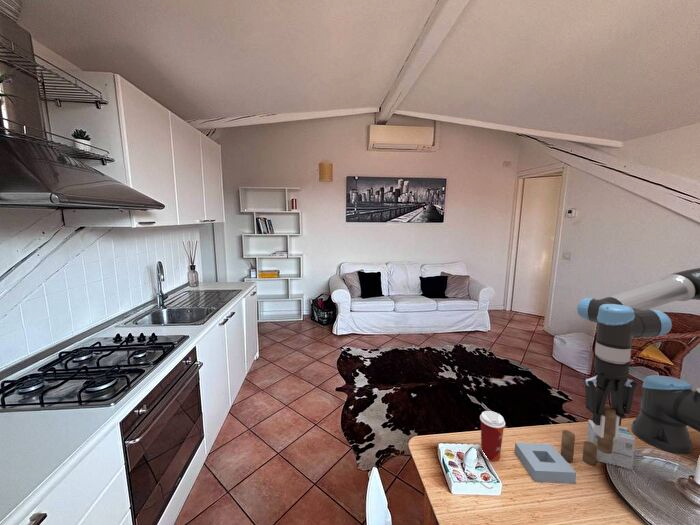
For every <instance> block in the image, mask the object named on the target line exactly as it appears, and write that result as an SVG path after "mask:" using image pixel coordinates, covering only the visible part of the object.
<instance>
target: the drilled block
mask: <svg viewBox="0 0 700 525" xmlns="http://www.w3.org/2000/svg"><path fill="white" fill-rule="evenodd" d="M514 443H515V444H514V454H515V455H516V456H517V458H518V459H519V460H520V462H521V463H522V465H523V466H524V468H525V469H526V471H527V473H528V474H529V475H530V477H531V478H532V480H533V481H534V482H538V483H539V482H543V483H562V484H576V480H577V472H576V470H575V469H574V468H573V467H572V465H571V464H569V462H567V461H566V460H565V459H564V458H563V457H562V456H561V452H559V451H558V450H557V449H556V448H555V446H554V445H553V444H552V443H539V442H538V443H537V442H535V443H533V442H532V443H531V442H514Z"/></svg>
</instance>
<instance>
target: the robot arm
mask: <svg viewBox="0 0 700 525" xmlns="http://www.w3.org/2000/svg"><path fill="white" fill-rule="evenodd" d="M690 300H692V301H693V300H697V301H700V267H695V268H691V269H686V270H681V271H678V272H677V271H676V272H674V273H671V274H666V275H665V276H663V277H662V278H661V279H660V280H659V281H655V282H652V283H650V284H646V285H642V286H640V287H635V288H633V289H630V290H626V291H624V292H620V293H616V294H613V295H610V296H607V297H603V298H600V299H596V298H594V297H593V298H591V297H585V298H583V299H581V300H580V301H579V302H578V304H577V307H576V309H577V310H576V311H577V314H578V316H579V317H580V318H581V319H584V320H587V321H589V322H592V323H596V338H595V348H594V349H595V350H594V354H595V356H594V361H593V368H594V373H593V374H592V377H590V378H587V377H584V378H582V380H583V383H584V385H585V386H584V387H585V390H584V391H585V409H587V410H588V411H589V412H590V413H592V418H591V420H592V421H593V423H594V432H595V433H596V434H597V435H598V436H600V437H601V438H604V426H605V416H604V415H602V414H603V411H604V407H605V405H606V402H607V399H608V396H609V395H610V398H611V399H610V402H611V407H612V408H614V409H615V410H616V412H615V423H614V435H613V437H614V438H618V429H619V426H621V424H622V419H626V417H627V415H630V414H631V412H632V411H631V410H632V405H633V400H634V398H633V397H634V393H635V389H637V386H638V383H637V382H636V381H634V380H632V379H631V378H629V377H628V376H629V374H630V367H631V366H630V364H631V363H630V361H631V354H632V340H633V339H639V338H655V337H659V336H664V335H667V334H668V333H669V332H670V331H671V329H672V327H673V326H672V325H673V324H672V322H673V321H672V320H671V318H670V317H669V315H668V314H666V313H665V312H663V311H661V310H657V309H654V308H657V307H659V306H660V307H661V306H663V305H667V304H669V303H672V302H686V301H690ZM687 426H688V427H689V428H691V429H693V430H695V431H697V432H699V433H700V387H696V388H695V391H694V390H693V387H692V384H691V383H690V382H688V381H687V380H684V379H681V378H677V377H672V376H666V375H657V374H656V375H655V374H653V375H647V376H645V377H644V379H643V383H642V390H641V401H640V410H639V413H638V414H637V416H636V417H635V419H634V420H633V421H632V424H631V431H632V433H633V434H634V435H635V436H636V437H638V438H639V439H640V440H642V441H643V442H645V443H647V444H649V445H651V446H652V447H655V448H658V449H661V450H664V451H666V452H668V453H669V452H670V453H674V454H680V455H681V454H682V455H685V454H687V455H688V454H690V453H691V452H692V450H693V442H692V440H691V437H690V433H689V429H688V427H687Z"/></svg>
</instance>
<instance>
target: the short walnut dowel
mask: <svg viewBox="0 0 700 525" xmlns="http://www.w3.org/2000/svg"><path fill="white" fill-rule="evenodd" d="M596 457H597V446H596V445H595V444H594V443H591V442H588V441H587V440H586V441H584V442H583V450H582V461H583V463H585V464H586V465H589V466H591V467H595V466H596V465H597V461H596Z"/></svg>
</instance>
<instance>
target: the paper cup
mask: <svg viewBox="0 0 700 525" xmlns="http://www.w3.org/2000/svg"><path fill="white" fill-rule="evenodd" d="M479 420H480V442H481V444H480V446H481V447H480V448H482V450H483V452H484V453H485V455H486V456H487V458H488V459H489V460H488V461H490V462H498V461H499V460H500V459H501V458H500V457H501V451H502V444H503V436H504V428H505V426H506V421H505V419H504V416H502V415H501V414H500V413H498V412H495V411H492V410H484V411H482V412H481V414H480V415H479Z"/></svg>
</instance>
